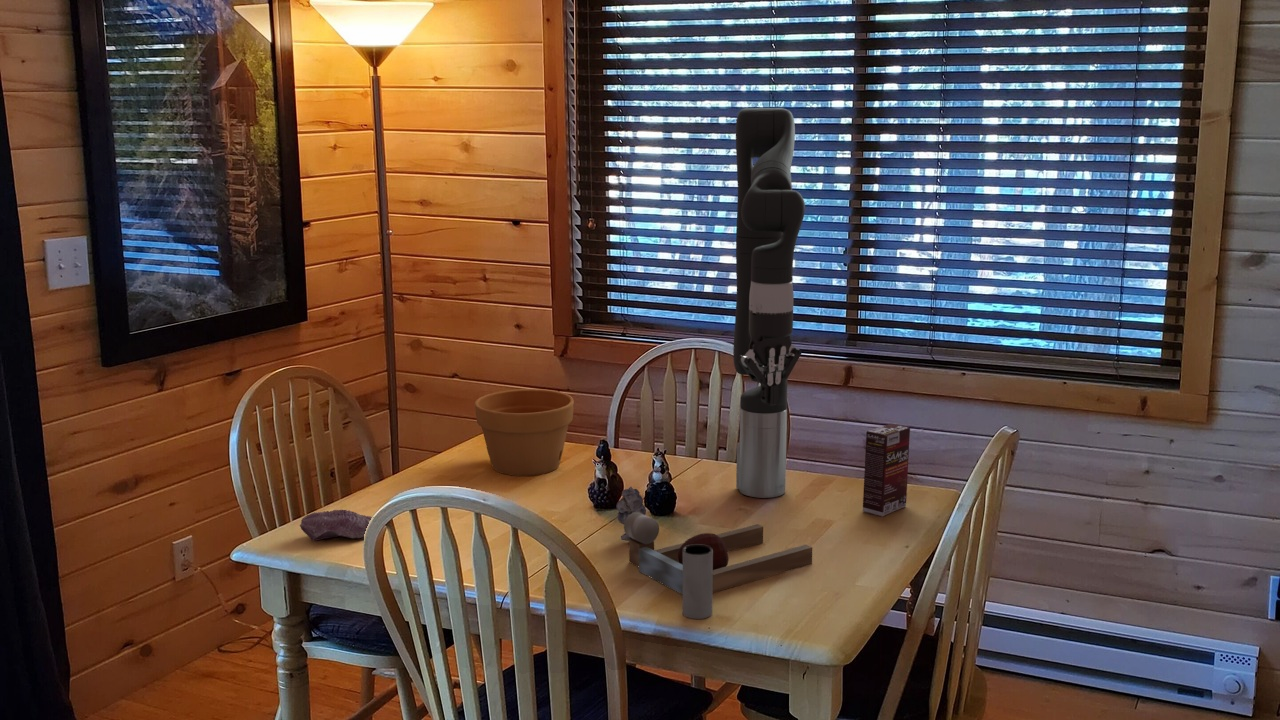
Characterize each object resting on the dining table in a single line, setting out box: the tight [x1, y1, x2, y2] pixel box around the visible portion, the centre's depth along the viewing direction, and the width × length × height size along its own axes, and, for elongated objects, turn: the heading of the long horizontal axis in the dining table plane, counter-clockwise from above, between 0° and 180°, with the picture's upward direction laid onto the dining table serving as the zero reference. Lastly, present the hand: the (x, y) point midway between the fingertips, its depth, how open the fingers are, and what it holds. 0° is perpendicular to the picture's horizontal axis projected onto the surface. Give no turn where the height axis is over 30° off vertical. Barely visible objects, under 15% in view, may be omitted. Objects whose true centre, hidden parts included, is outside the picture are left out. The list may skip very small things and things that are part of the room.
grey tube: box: [681, 544, 713, 620], centre depth 180 cm, size 4×4×10 cm
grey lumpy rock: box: [615, 486, 647, 542], centre depth 211 cm, size 5×5×10 cm
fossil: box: [299, 509, 373, 542], centre depth 214 cm, size 8×14×5 cm, turn 111°
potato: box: [678, 532, 729, 570], centre depth 196 cm, size 7×8×7 cm
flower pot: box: [474, 388, 575, 477], centre depth 256 cm, size 21×21×15 cm
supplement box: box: [862, 423, 911, 517], centre depth 227 cm, size 9×5×16 cm, turn 136°
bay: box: [623, 512, 813, 595], centre depth 200 cm, size 19×26×8 cm
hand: (769, 404), depth 208 cm, fingers closed
